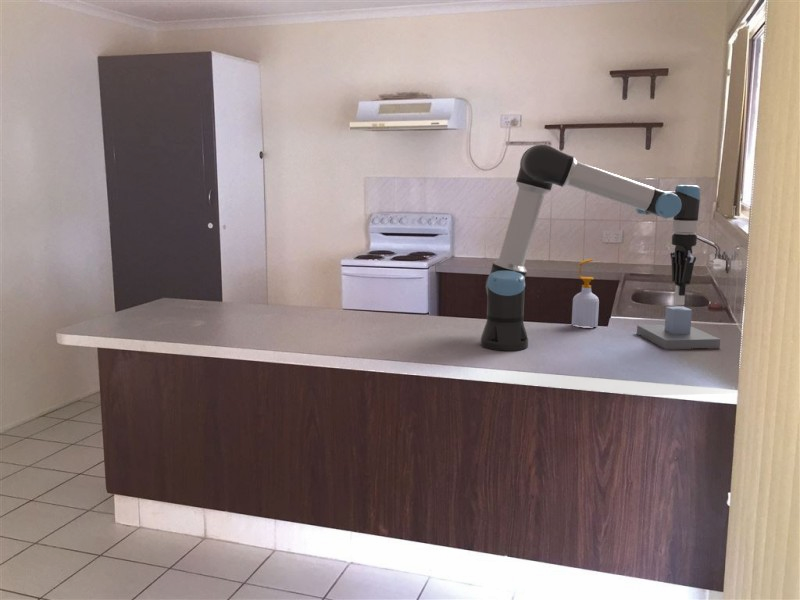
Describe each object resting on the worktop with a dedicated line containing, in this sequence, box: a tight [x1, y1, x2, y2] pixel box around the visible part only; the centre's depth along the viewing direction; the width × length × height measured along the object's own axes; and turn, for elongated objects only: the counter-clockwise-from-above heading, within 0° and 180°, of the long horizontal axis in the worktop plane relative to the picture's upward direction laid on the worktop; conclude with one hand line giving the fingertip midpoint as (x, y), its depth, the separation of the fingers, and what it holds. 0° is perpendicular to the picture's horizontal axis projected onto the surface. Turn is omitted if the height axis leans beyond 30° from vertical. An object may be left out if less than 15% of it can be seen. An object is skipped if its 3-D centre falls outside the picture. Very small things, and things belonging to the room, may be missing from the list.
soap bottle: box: [571, 258, 600, 328], centre depth 263 cm, size 9×9×25 cm
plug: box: [664, 305, 693, 334], centre depth 243 cm, size 6×6×10 cm
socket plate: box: [636, 324, 721, 350], centre depth 244 cm, size 18×22×3 cm
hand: (679, 304), depth 242 cm, fingers closed
